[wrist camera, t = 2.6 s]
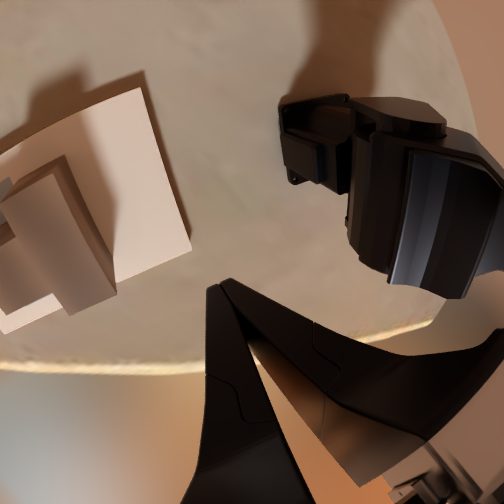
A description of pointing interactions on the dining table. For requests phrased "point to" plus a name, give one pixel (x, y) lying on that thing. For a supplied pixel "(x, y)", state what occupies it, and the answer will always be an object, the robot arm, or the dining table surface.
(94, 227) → the walnut T block
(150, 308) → the dining table surface
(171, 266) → the dining table surface
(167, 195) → the board
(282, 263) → the dining table surface
